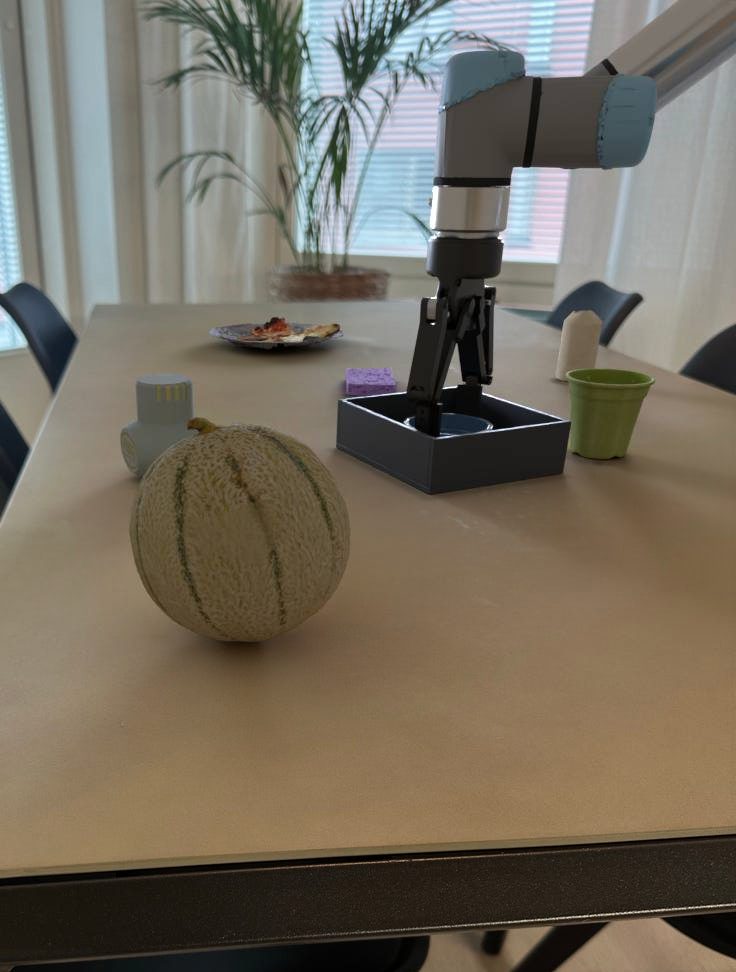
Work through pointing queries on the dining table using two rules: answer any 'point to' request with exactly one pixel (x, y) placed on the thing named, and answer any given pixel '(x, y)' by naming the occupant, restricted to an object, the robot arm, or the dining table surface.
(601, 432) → the plant pot
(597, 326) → the candle
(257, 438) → the cantaloupe
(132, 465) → the air freshener
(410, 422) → the blue round bowl
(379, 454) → the tub
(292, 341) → the food plate
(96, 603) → the dining table surface
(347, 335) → the dining table surface
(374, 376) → the sponge
